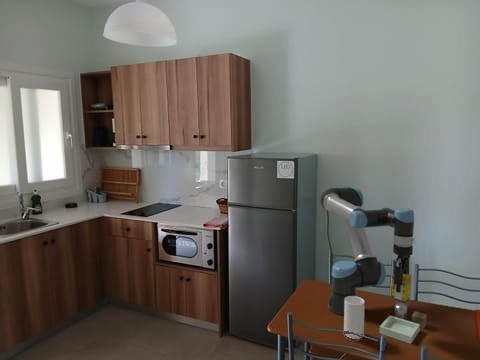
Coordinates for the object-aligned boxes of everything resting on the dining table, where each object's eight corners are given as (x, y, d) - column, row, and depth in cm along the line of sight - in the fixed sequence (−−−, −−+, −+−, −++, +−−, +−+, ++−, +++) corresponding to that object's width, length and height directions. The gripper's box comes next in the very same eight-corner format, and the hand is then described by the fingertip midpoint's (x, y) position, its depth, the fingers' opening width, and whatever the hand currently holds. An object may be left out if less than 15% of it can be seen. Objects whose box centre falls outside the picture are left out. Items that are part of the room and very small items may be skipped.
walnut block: (411, 325, 163) (412, 315, 162) (414, 321, 166) (415, 311, 166) (423, 329, 159) (424, 318, 159) (426, 324, 163) (427, 314, 162)
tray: (379, 333, 157) (379, 326, 156) (389, 321, 166) (389, 315, 166) (410, 343, 148) (411, 337, 148) (419, 330, 158) (419, 324, 158)
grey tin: (393, 320, 168) (393, 305, 167) (396, 315, 171) (397, 302, 171) (404, 323, 164) (405, 309, 164) (407, 319, 168) (408, 305, 167)
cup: (364, 341, 151) (365, 305, 149) (344, 339, 152) (345, 303, 151) (362, 331, 159) (363, 296, 157) (343, 329, 160) (343, 295, 159)
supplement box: (391, 299, 156) (392, 275, 154) (396, 294, 160) (397, 271, 159) (405, 303, 151) (406, 278, 150) (410, 298, 156) (411, 274, 154)
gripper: (405, 252, 143) (403, 306, 146) (418, 240, 157) (416, 290, 160) (386, 248, 148) (384, 301, 151) (400, 238, 162) (398, 286, 165)
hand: (401, 295), depth 155 cm, fingers closed on supplement box, 6 cm apart
